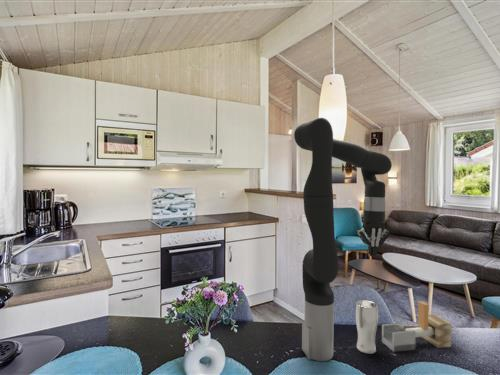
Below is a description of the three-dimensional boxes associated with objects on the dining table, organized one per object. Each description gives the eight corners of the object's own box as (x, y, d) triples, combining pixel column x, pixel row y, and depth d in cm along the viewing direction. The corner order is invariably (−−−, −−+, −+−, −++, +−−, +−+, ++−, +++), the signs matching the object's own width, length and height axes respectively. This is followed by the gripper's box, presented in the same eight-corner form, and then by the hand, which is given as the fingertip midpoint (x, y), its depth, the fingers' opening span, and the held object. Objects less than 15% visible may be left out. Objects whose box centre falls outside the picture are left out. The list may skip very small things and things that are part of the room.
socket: (438, 348, 98) (438, 324, 98) (422, 337, 105) (422, 315, 105) (450, 346, 99) (451, 323, 99) (434, 336, 106) (434, 314, 106)
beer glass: (353, 350, 96) (354, 305, 96) (356, 341, 102) (357, 298, 102) (376, 357, 92) (377, 310, 92) (378, 346, 99) (378, 302, 99)
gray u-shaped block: (393, 351, 95) (394, 333, 95) (381, 341, 102) (382, 324, 102) (415, 349, 97) (415, 331, 97) (402, 339, 103) (402, 322, 103)
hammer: (410, 339, 98) (411, 305, 98) (404, 335, 101) (405, 302, 101) (441, 336, 101) (441, 303, 101) (434, 332, 104) (434, 300, 104)
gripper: (363, 210, 103) (361, 258, 103) (397, 210, 105) (395, 258, 105) (352, 208, 110) (351, 253, 110) (384, 209, 112) (382, 253, 112)
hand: (372, 256), depth 108 cm, fingers closed
